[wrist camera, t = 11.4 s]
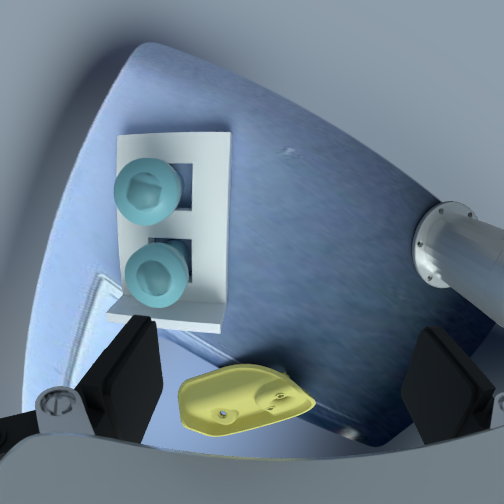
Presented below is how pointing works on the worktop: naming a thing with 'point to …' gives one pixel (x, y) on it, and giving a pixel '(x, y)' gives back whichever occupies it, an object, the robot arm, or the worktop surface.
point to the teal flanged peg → (158, 273)
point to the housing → (184, 228)
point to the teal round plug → (147, 191)
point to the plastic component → (240, 399)
